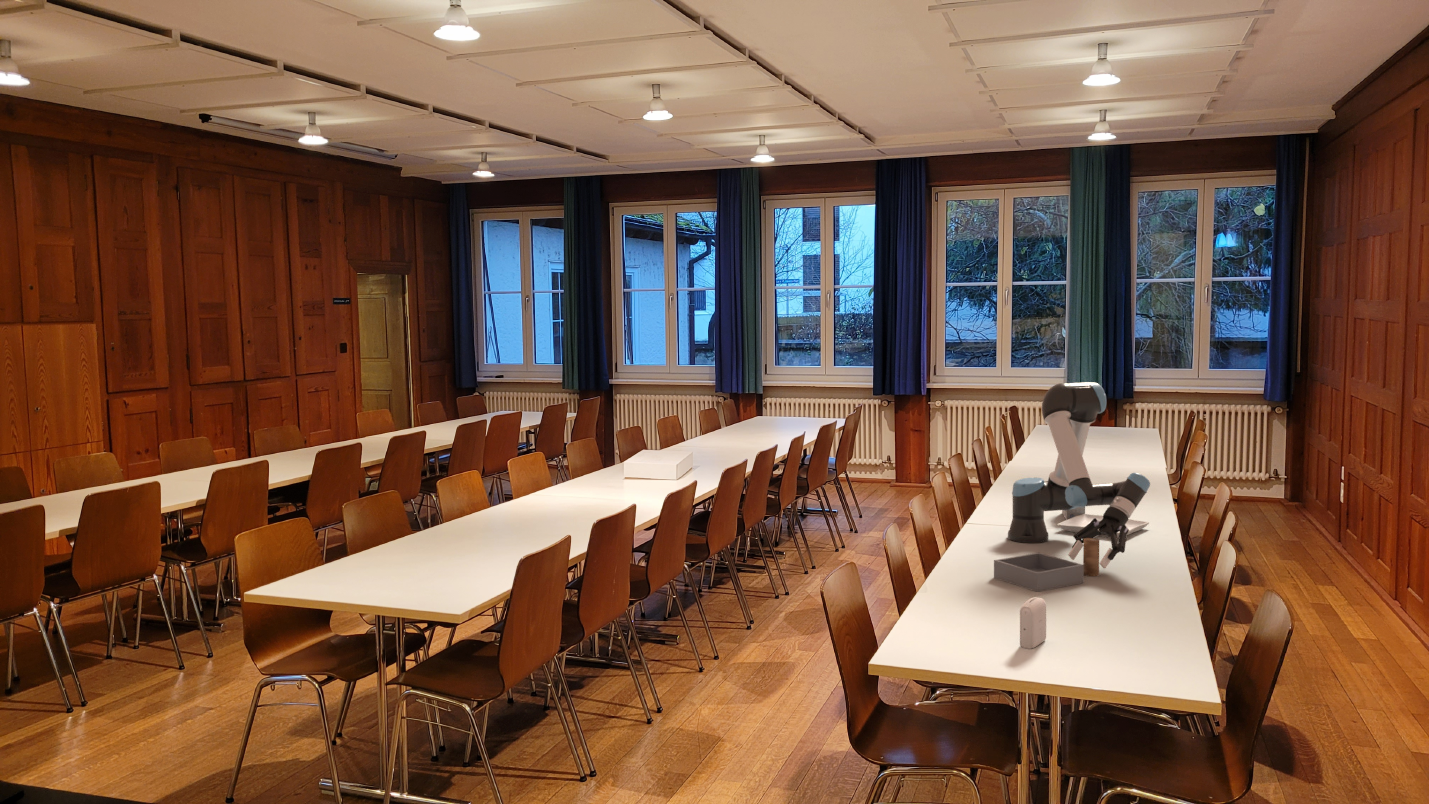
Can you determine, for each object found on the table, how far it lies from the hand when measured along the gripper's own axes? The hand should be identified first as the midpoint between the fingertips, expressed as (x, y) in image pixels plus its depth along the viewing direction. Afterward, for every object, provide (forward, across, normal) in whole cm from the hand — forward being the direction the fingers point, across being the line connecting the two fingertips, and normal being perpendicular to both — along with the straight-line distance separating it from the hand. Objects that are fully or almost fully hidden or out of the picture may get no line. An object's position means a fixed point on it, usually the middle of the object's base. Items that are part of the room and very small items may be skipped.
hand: (1086, 561), depth 343 cm
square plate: (-37, -45, +44) cm, 73 cm away
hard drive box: (-44, -70, +51) cm, 97 cm away
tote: (+16, -4, -9) cm, 19 cm away
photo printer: (+49, +42, -42) cm, 77 cm away
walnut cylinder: (+2, 0, +5) cm, 5 cm away
